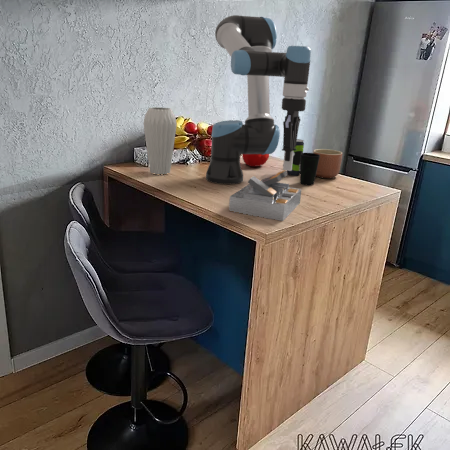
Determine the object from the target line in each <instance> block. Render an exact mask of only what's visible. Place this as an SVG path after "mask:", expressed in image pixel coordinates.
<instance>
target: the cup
mask: <svg viewBox="0 0 450 450" xmlns="http://www.w3.org/2000/svg"><path fill="white" fill-rule="evenodd" d="M319 158H320V155H319V154H315V153H313V152H303V153H301V156H300V175H299V184H300V185H303V186H308V187H309V186H314V185H315V180H316V178H317V176H316V172H317V167H318V163H319Z"/></svg>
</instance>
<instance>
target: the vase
mask: <svg viewBox="0 0 450 450" xmlns="http://www.w3.org/2000/svg"><path fill="white" fill-rule="evenodd" d="M143 131H144V137H145V138H144V139H145V145H146V151H147V159H148V167H149V173H150V172H151V173H155V174H167V173H170V174H171V167H172V161H173V153H174V147H175V139H176V134H177V133H176V132H177V119H176V115H175V114H174V111H173V110H172V108H169V107H159V106H158V107H157V106H155V107H154V106H153V107H149V108H148V109H147V111H146V113H145V115H144V119H143ZM151 173H150V174H151Z"/></svg>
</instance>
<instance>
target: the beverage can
mask: <svg viewBox="0 0 450 450" xmlns="http://www.w3.org/2000/svg"><path fill="white" fill-rule="evenodd" d="M304 147H305V141H304V140H303V139H300V138H297V141H296V147H295V149H296V151H294V150H293V151H294V153H293V163H292V170H291V171H287V170H286V172H287V176H296V177H297V176H300V156H301V153H304Z"/></svg>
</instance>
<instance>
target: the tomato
mask: <svg viewBox="0 0 450 450" xmlns="http://www.w3.org/2000/svg"><path fill="white" fill-rule="evenodd" d="M241 155H242V157H241V159H242V160H243V162H244V164H245V165H246V166H249V167H260V166H263V165H265V164H266V163H267V162H268V160H269V158H270V154H264V155H262V154H241Z"/></svg>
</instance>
